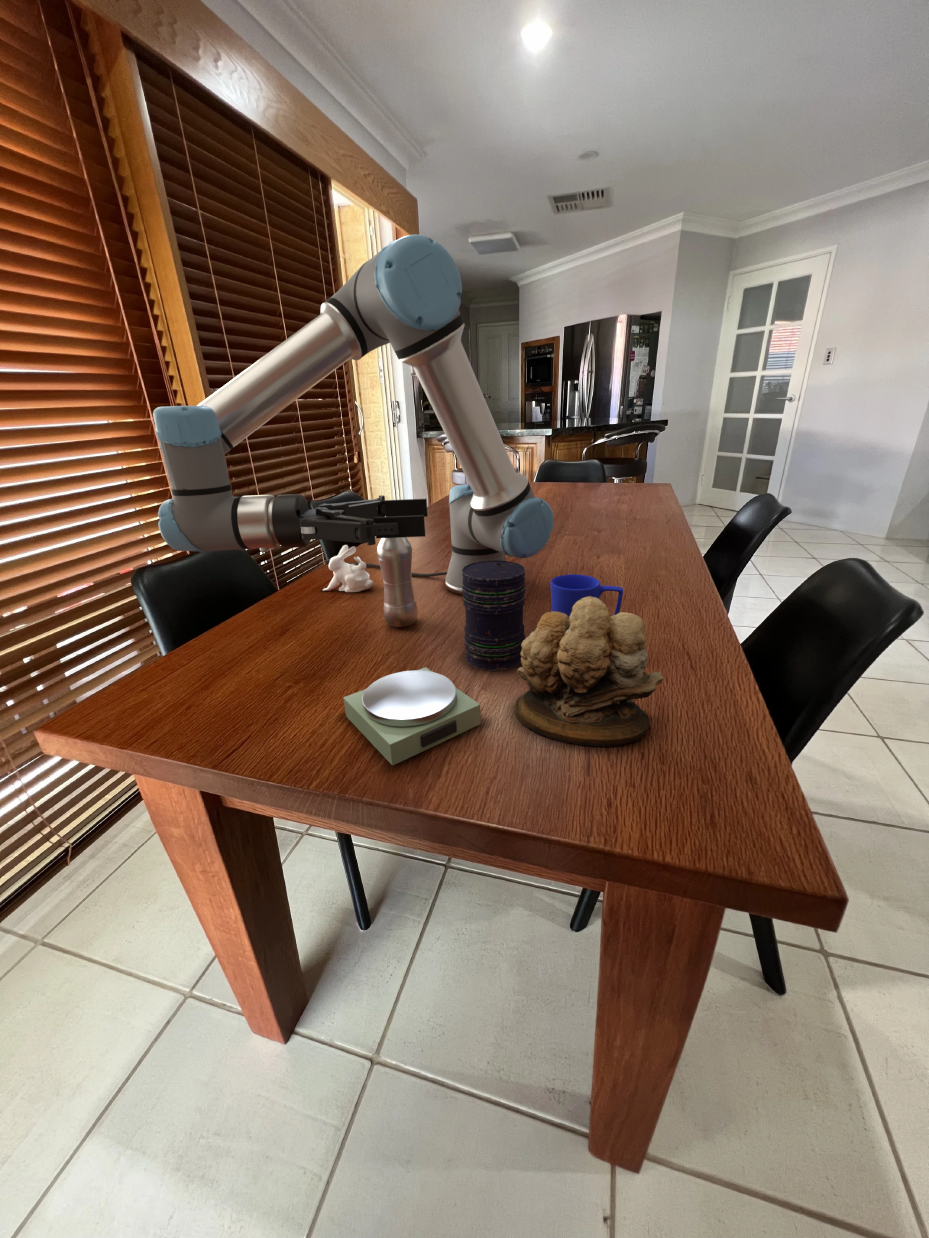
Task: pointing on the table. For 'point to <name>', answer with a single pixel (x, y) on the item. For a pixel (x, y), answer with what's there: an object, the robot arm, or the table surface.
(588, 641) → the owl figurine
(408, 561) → the metal bottle
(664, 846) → the table surface
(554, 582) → the mug
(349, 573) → the rabbit figurine
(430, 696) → the weighing pan
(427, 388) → the robot arm
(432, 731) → the scale
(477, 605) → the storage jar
